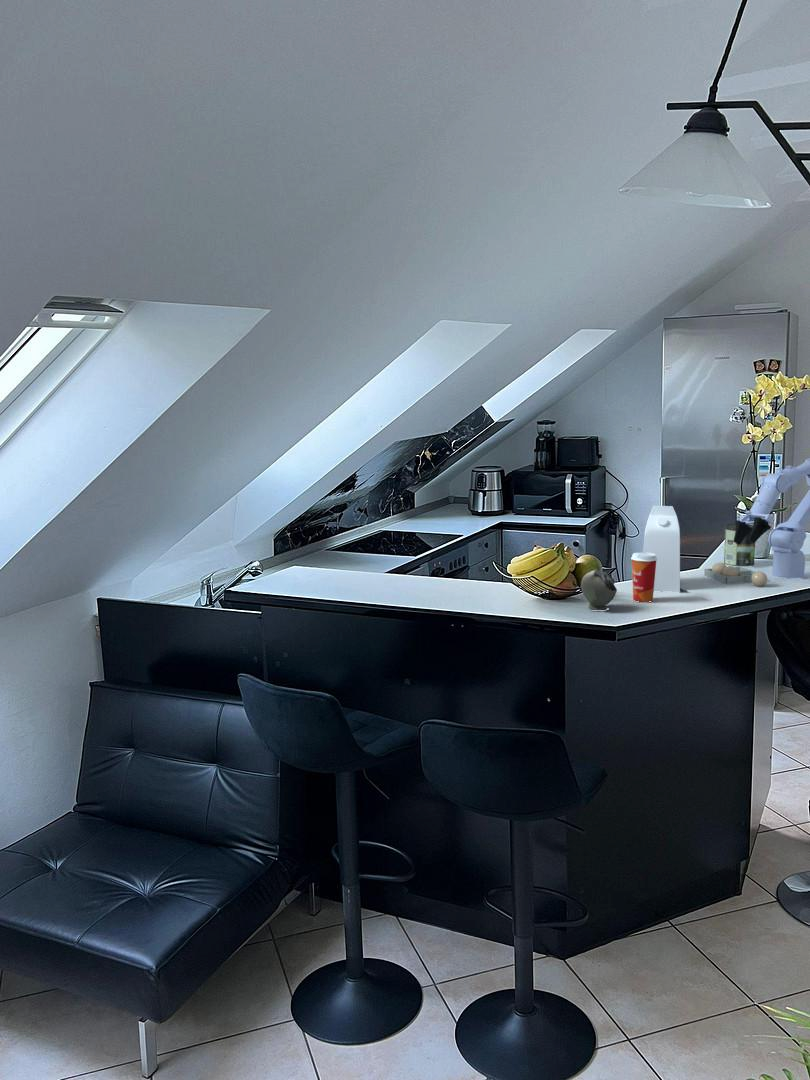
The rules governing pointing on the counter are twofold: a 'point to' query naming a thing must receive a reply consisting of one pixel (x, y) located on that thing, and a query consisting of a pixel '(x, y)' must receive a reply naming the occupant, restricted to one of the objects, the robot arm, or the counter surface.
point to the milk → (664, 547)
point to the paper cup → (643, 576)
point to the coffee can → (738, 548)
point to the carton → (742, 577)
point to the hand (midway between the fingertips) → (743, 542)
